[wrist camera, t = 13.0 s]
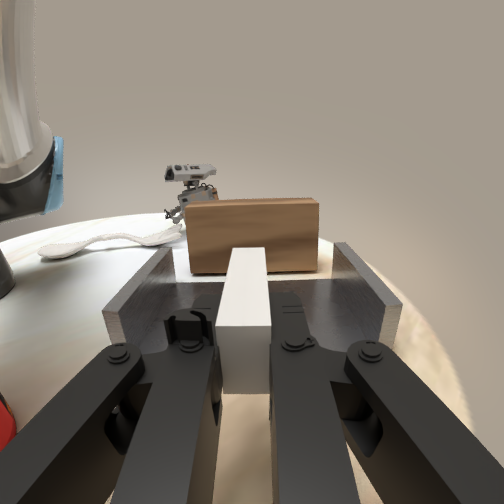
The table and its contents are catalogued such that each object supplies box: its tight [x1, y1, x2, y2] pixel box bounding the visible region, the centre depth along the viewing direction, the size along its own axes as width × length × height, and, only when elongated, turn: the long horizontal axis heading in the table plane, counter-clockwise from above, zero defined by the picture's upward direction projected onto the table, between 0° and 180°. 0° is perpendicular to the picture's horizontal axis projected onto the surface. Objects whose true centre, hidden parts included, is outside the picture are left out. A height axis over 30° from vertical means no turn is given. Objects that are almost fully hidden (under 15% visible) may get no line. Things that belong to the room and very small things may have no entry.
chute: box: [102, 243, 403, 355], centre depth 28 cm, size 16×23×5 cm
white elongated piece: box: [38, 224, 182, 258], centre depth 51 cm, size 9×32×4 cm, turn 103°
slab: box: [184, 198, 319, 273], centre depth 39 cm, size 5×17×9 cm, turn 89°
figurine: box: [164, 164, 219, 225], centre depth 58 cm, size 9×12×15 cm
